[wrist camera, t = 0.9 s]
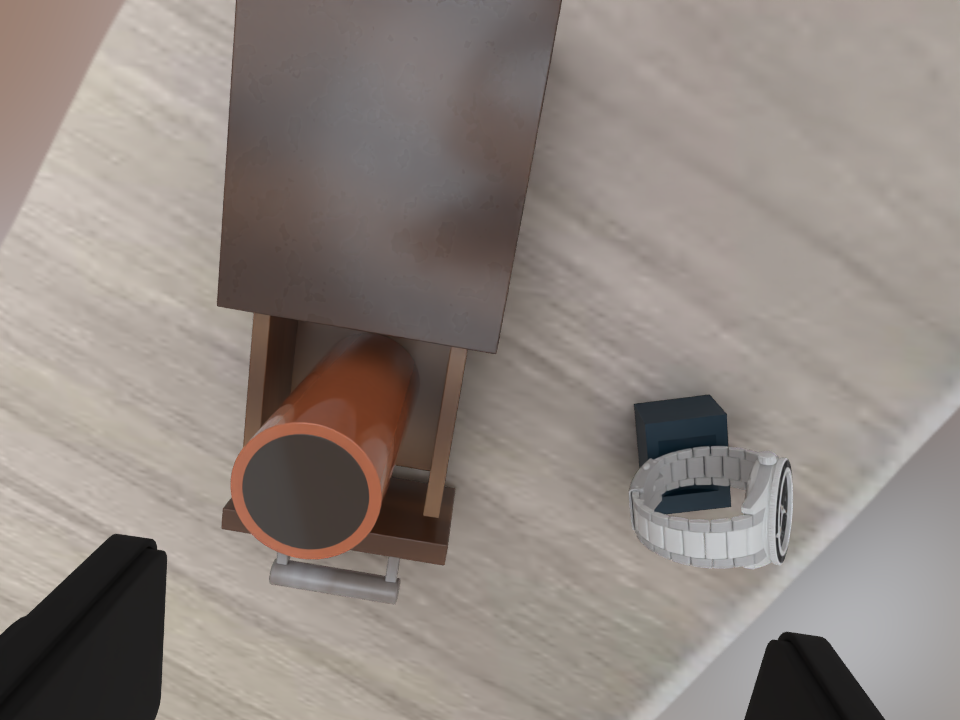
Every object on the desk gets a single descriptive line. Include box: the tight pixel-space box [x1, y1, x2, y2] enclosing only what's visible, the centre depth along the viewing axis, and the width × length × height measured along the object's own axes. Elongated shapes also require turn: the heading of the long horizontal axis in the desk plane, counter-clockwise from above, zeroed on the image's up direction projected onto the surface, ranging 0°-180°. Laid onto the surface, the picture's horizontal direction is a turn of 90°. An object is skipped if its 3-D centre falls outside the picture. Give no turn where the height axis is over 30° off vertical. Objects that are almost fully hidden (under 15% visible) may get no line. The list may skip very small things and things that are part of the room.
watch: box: [629, 395, 793, 569], centre depth 35 cm, size 6×8×11 cm
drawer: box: [222, 313, 468, 604], centre depth 37 cm, size 18×11×6 cm, turn 170°
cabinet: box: [217, 0, 562, 354], centre depth 33 cm, size 15×13×8 cm
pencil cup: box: [231, 333, 420, 559], centre depth 32 cm, size 6×6×13 cm
